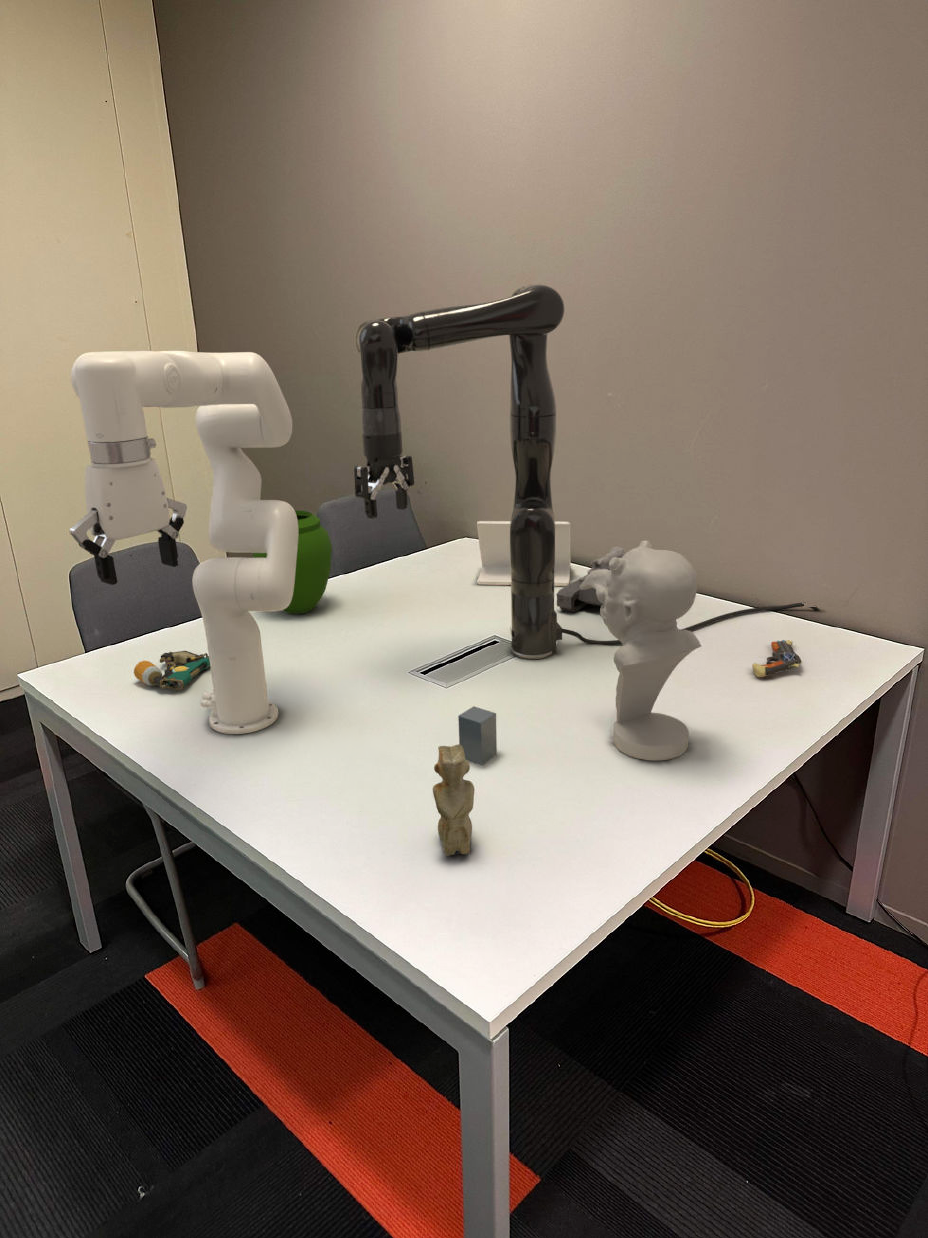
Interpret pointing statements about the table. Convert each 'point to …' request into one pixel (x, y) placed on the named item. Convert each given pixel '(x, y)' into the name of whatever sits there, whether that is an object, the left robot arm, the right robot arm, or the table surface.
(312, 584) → the vase
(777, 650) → the toy gun
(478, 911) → the table surface
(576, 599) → the toy
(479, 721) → the brick
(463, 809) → the sculpture
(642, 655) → the bust sculpture
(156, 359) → the left robot arm
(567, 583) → the tablet stand
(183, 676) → the spray gun
